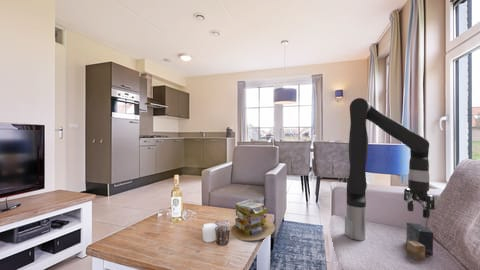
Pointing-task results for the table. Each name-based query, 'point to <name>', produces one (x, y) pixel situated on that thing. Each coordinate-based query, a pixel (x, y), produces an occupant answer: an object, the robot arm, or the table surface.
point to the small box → (420, 236)
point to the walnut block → (416, 250)
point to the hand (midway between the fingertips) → (417, 214)
